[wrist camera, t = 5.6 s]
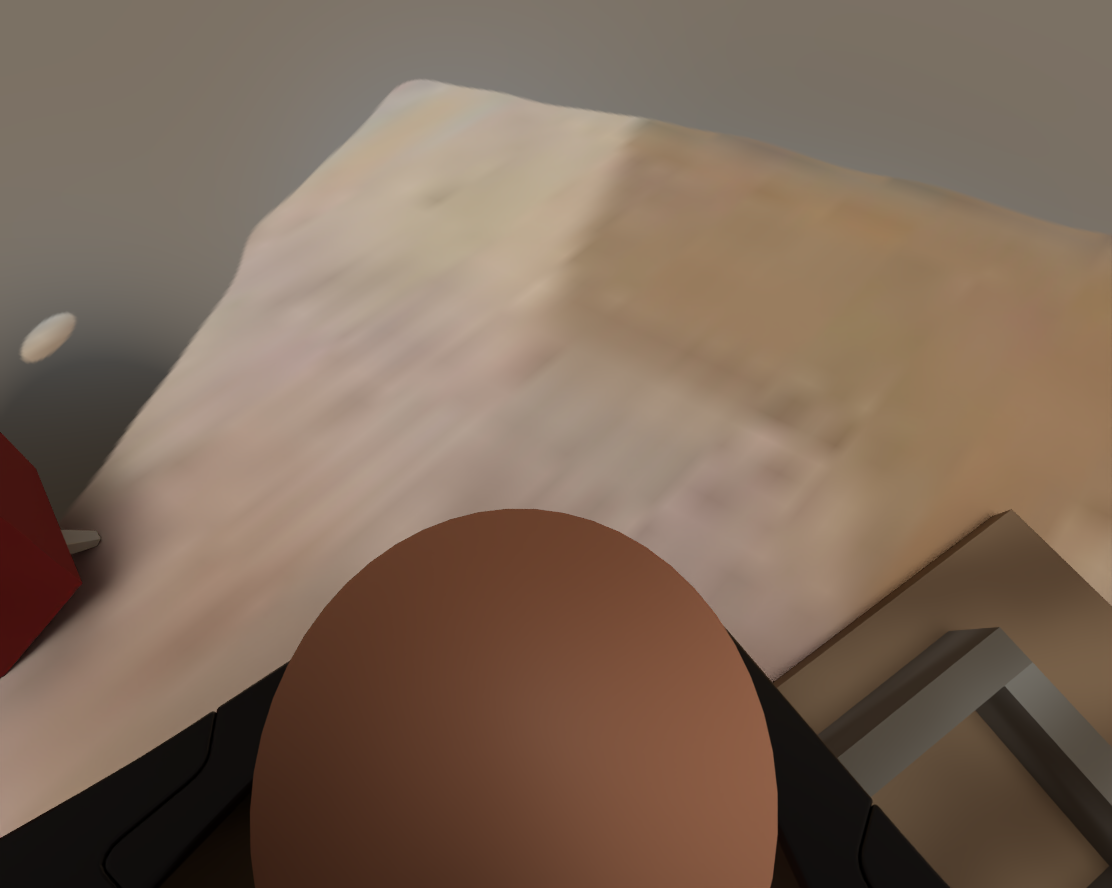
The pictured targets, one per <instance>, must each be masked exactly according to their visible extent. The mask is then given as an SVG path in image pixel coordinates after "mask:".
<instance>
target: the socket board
mask: <svg viewBox="0 0 1112 888" xmlns="http://www.w3.org/2000/svg"><path fill="white" fill-rule="evenodd" d="M773 684H774V685H775V686H776V687H777V688H778V690H779V691H780V692H781V693H782V694H783V695H784V697H785V698H786V699H787V700H788V701H789V702H790V704H791V705H792V706H793V707H794V708H795V709H796V711H797V712H798V713H799V714H800V715H801V716H802V718H803V719H804V720H805V721H806V722H807V723H808V725H809V726H810V727H811V728H812V729H813V730H814V732H815V733H816V734H817V735H818V736H819V737H820V739H821V740H822V741H823V742H824V743H825V744H826V746H827V747H828V748H829V749H830V750H831V751H832V753H833V754H834V755H835V756H836V757H837V758H838V760H839V761H840V762H841V763H842V764H843V765H844V767H845V768H846V769H847V770H848V771H849V772H850V774H851V775H852V776H853V777H854V778H855V779H856V781H857V782H858V783H859V784H860V785H861V786H862V788H863V789H864V790H865V791H866V792H867V793H868V795H869V796H870V797H871V798H872V800H873V803H872V805H874V804H876V805H878V806H879V807H880V808H881V809H882V810H883V812H884V813H885V814H886V815H887V816H888V817H889V819H890V820H891V821H892V822H893V823H894V824H895V826H896V827H897V828H898V829H899V830H900V831H901V833H902V834H903V835H904V836H905V837H906V838H907V839H908V840H909V842H910V843H911V844H912V845H913V846H914V847H915V848H916V849H917V851H918V852H919V853H920V854H921V855H922V856H923V857H924V858H925V859H926V861H927V862H928V863H929V864H930V865H931V866H932V867H933V868H934V870H935V871H936V872H937V873H938V874H939V875H940V876H941V877H942V879H943V880H944V881H945V882H946V883H947V884H948V885H949V886H950V887H951V888H1112V606H1111V605H1110V604H1109V603H1108V602H1107V601H1106V600H1105V599H1104V598H1103V597H1102V596H1101V595H1100V594H1099V593H1098V592H1096V591H1095V590H1094V589H1093V588H1092V587H1091V586H1090V585H1089V584H1088V583H1087V582H1086V581H1085V580H1084V579H1083V578H1082V577H1081V576H1080V575H1079V574H1078V573H1077V572H1076V571H1075V570H1074V569H1073V568H1072V567H1071V566H1070V565H1069V564H1068V563H1067V562H1066V561H1065V560H1063V559H1062V558H1061V557H1060V556H1059V555H1058V554H1057V553H1056V552H1055V551H1054V550H1053V549H1052V548H1051V547H1050V546H1049V545H1048V544H1047V543H1046V542H1045V541H1044V540H1043V539H1042V538H1041V537H1040V536H1039V535H1038V534H1037V533H1036V532H1035V531H1034V530H1033V529H1032V528H1030V527H1029V526H1028V525H1027V524H1026V523H1025V522H1024V521H1023V520H1022V519H1021V518H1020V517H1019V516H1018V515H1017V514H1016V513H1015V512H1014V511H1013V510H1012V509H1011V510H1008V511H1005V512H1003V513H1000V514H997V515H994V516H992V517H991V518H990V519H988V520H987V521H986V522H984V523H983V524H982V525H980V526H979V527H978V528H976V529H975V530H974V531H973V532H971V533H970V534H969V535H967V536H966V537H965V538H963V539H962V540H961V541H959V542H958V543H957V544H955V545H954V546H953V547H951V548H950V549H949V550H947V551H946V552H945V553H943V554H942V555H941V556H940V557H938V558H937V559H936V560H934V561H933V562H932V563H930V564H929V565H928V566H926V567H925V568H924V569H922V570H921V571H920V572H918V573H917V574H916V575H914V576H913V577H912V578H911V579H909V580H908V581H907V582H905V583H904V584H903V585H901V586H900V587H899V588H897V589H896V590H895V591H893V592H892V593H891V594H889V595H888V596H887V597H885V598H884V599H883V600H881V601H880V602H879V603H878V604H876V605H875V606H874V607H872V608H871V609H870V610H868V611H867V612H866V613H864V614H863V615H862V616H860V617H859V618H858V619H856V620H855V621H854V622H852V623H851V624H850V625H849V626H847V627H846V628H845V629H843V630H842V631H841V632H839V633H838V634H837V635H835V636H834V637H833V638H831V639H830V640H829V641H827V642H826V643H825V644H823V645H822V646H821V647H819V648H818V649H817V650H816V651H814V652H813V653H812V654H810V655H809V656H808V657H806V658H805V659H804V660H802V661H801V662H800V663H798V664H797V665H796V666H794V667H793V668H792V669H790V670H789V671H788V672H786V673H785V674H784V675H783V676H781V677H780V678H779V679H777V680H776V681H775V682H773Z"/></svg>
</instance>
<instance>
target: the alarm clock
mask: <svg viewBox="0 0 1112 888" xmlns="http://www.w3.org/2000/svg"><path fill="white" fill-rule="evenodd" d="M100 538H101V537H100V536H99V535H98V533H97V531H91V530H61V529H60V527H59V524H58V522H57V519H56V517H55V515H54V512H53V510H52V507H51V505H50V502H49V500H48V497H47V495H46V492H45V490H44V487H43V485H42V483H41V480H40V478H39V475H38V473H37V470H36V469H35V468H34V466H33V465H32V464H31V463H30V462H29V461H28V460H27V459H26V458H25V457H24V456H23V455H22V454H21V453H20V452H19V451H18V450H17V449H16V448H15V447H14V446H13V445H12V444H11V443H10V442H9V441H8V440H7V438H6V437H5V436H4V435H2V433H1V432H0V677H3V676H4V675H5V674H6V673H7V672H8V671H9V670H10V668H11V667H12V666H13V665H14V664H15V662H16V661H17V660H18V659H19V658H20V657H21V655H22V654H23V653H24V652H25V651H26V649H27V648H28V647H29V646H30V645H31V644H32V642H33V641H34V640H35V639H36V638H37V636H38V635H39V634H40V633H41V632H42V631H43V629H44V628H45V627H46V626H47V625H48V623H49V622H50V621H51V620H52V619H53V617H54V616H55V615H56V614H57V613H58V612H59V610H60V609H61V608H62V607H63V606H64V604H65V603H66V602H67V601H68V600H69V599H70V597H71V596H72V595H73V594H74V593H75V591H76V590H77V589H78V588H79V587H80V586H81V584H82V581H81V579H80V576H79V574H78V571H77V569H76V566H75V564H74V561H73V559H72V556H71V554H74V553H77V552H80V551H83V550H86V549H89V548H92V547H95V546H97V545H98V543H99V541H100Z"/></svg>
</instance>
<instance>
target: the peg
mask: <svg viewBox="0 0 1112 888" xmlns="http://www.w3.org/2000/svg"><path fill="white" fill-rule="evenodd" d="M777 835H778V792H777V784H776V775H775V766H774V758H773V750H772V746H771V742H770V738H769V733H768V729H767V725H766V720H765V716H764V712H763V709H762V707H761V704H760V701H759V698H758V695H757V692H756V690H755V687H754V684H753V681H752V678H751V676H750V674H749V672H748V670H747V668H746V666H745V664H744V662H743V660H742V658H741V656H740V654H739V651H738V649H737V647H736V645H735V643H734V642H733V640H732V639H731V637H730V636H729V634H728V633H727V631H726V629H725V628H724V626H723V625H722V623H721V622H720V620H719V619H718V617H717V615H716V614H715V613H714V612H713V610H712V609H711V608H710V607H709V605H708V604H707V603H706V602H705V601H704V599H703V598H702V597H701V596H700V595H699V593H698V592H697V591H696V590H695V588H694V587H693V586H691V585H690V584H689V583H688V582H687V581H686V580H685V579H684V578H683V577H682V576H681V575H680V574H679V573H678V572H677V571H676V570H675V569H674V568H673V567H672V566H670V565H669V564H668V563H666V562H665V561H664V560H662V559H661V558H660V557H658V556H657V555H656V554H654V553H653V552H652V551H650V550H649V549H648V548H646V547H645V546H643V545H641V544H640V543H638V542H636V541H634V540H633V539H631V538H629V537H627V536H626V535H624V534H622V533H620V532H618V531H616V530H613V529H611V528H609V527H606V526H604V525H601V524H599V523H596V522H594V521H591V520H588V519H584V518H580V517H577V516H573V515H569V514H565V513H560V512H552V511H545V510H538V509H503V510H494V511H486V512H478V513H474V514H470V515H466V516H462V517H458V518H454V519H450V520H448V521H445V522H442V523H440V524H437V525H435V526H432V527H430V528H427V529H424V530H422V531H420V532H418V533H416V534H415V535H413V536H411V537H409V538H407V539H405V540H403V541H401V542H400V543H398V544H396V545H394V546H393V547H392V548H390V549H389V550H387V551H386V552H384V553H383V554H382V555H380V556H379V557H377V558H376V559H374V560H373V561H371V562H370V563H369V564H368V565H367V566H366V567H365V568H363V569H362V570H361V571H360V572H359V573H358V574H357V575H355V576H354V577H353V578H352V579H351V580H350V581H349V582H348V583H347V584H346V585H345V586H344V587H343V588H342V589H341V590H340V591H339V592H338V593H337V595H336V596H335V597H334V598H333V599H332V600H331V601H330V602H329V603H328V604H327V606H326V607H325V608H324V609H323V611H322V612H321V613H320V615H319V616H318V618H317V619H316V620H315V622H314V623H313V624H312V626H311V627H310V629H309V630H308V631H307V633H306V634H305V636H304V637H303V639H302V641H301V643H300V644H299V646H298V648H297V650H296V651H295V653H294V655H293V657H292V658H291V660H290V662H289V664H288V665H287V668H286V670H285V672H284V675H283V677H282V679H281V681H280V684H279V686H278V688H277V691H276V693H275V695H274V697H273V700H272V703H271V706H270V709H269V713H268V716H267V719H266V722H265V725H264V728H263V731H262V735H261V740H260V744H259V749H258V754H257V759H256V764H255V769H254V775H253V786H252V796H251V807H250V848H251V860H252V868H253V876H254V884H255V888H770V887H771V882H772V878H773V870H774V861H775V853H776V844H777Z"/></svg>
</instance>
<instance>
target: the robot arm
mask: <svg viewBox="0 0 1112 888" xmlns="http://www.w3.org/2000/svg"><path fill="white" fill-rule="evenodd" d="M722 625H723V624H722ZM724 628H725V627H724ZM725 629H726V628H725ZM726 631H727V633H728V634H729V636H730V637H731V639H732V640H733V642H734V643H735V645H736V647H737V649H738V651H739V654H740V656H741V658H742V660H743V662H744V664H745V666H746V668H747V670H748V672H749V674H750V676H751V678H752V681H753V684H754V687H755V690H756V692H757V695H758V698H759V701H760V704H761V707H762V709H763V712H764V716H765V720H766V725H767V729H768V733H769V738H770V742H771V746H772V750H773V758H774V766H775V775H776V784H777V792H778V835H777V844H776V853H775V861H774V870H773V878H772V882H771V887H770V888H951V887H950V886H949V885H948V884H947V883H946V882H945V881H944V880H943V879H942V877H941V876H940V875H939V874H938V873H937V872H936V871H935V870H934V868H933V867H932V866H931V865H930V864H929V863H928V862H927V861H926V859H925V858H924V857H923V856H922V855H921V854H920V853H919V852H918V851H917V849H916V848H915V847H914V846H913V845H912V844H911V843H910V842H909V840H908V839H907V838H906V837H905V836H904V835H903V834H902V833H901V831H900V830H899V829H898V828H897V827H896V826H895V824H894V823H893V822H892V821H891V820H890V819H889V817H888V816H887V815H886V814H885V813H884V812H883V810H882V809H881V808H880V807H879V806H878V805H876V804H874V805H872V803H873V800H872V798H871V797H870V796H869V795H868V793H867V792H866V791H865V790H864V789H863V788H862V786H861V785H860V784H859V783H858V782H857V781H856V779H855V778H854V777H853V776H852V775H851V774H850V772H849V771H848V770H847V769H846V768H845V767H844V765H843V764H842V763H841V762H840V761H839V760H838V758H837V757H836V756H835V755H834V754H833V753H832V751H831V750H830V749H829V748H828V747H827V746H826V744H825V743H824V742H823V741H822V740H821V739H820V737H819V736H818V735H817V734H816V733H815V732H814V730H813V729H812V728H811V727H810V726H809V725H808V723H807V722H806V721H805V720H804V719H803V718H802V716H801V715H800V714H799V713H798V712H797V711H796V709H795V708H794V707H793V706H792V705H791V704H790V702H789V701H788V700H787V699H786V698H785V697H784V695H783V694H782V693H781V692H780V691H779V690H778V688H777V687H776V686H775V685H774V684H773V683H772V682H771V680H770V679H769V678H768V677H767V676H766V675H765V673H764V672H763V671H762V670H761V669H760V668H759V666H758V665H757V664H756V663H755V662H754V661H753V659H752V658H751V657H750V656H749V655H748V654H747V652H746V651H745V650H744V649H743V648H742V647H741V645H740V644H739V643H738V642H737V641H736V640H735V638H734V637H733V636H732V635H731V634H730V633H729V631H728V630H727V629H726ZM289 662H290V661H289ZM289 662H287V663H286V664H284V665H283V666H281V667H279V668H278V669H276V670H275V671H273V672H272V673H270V674H269V675H267V676H266V677H264V678H263V679H261V680H260V681H258V682H257V683H255V684H253V685H252V686H250V687H249V688H247V689H246V690H244V691H243V692H241V693H240V694H238V695H237V696H235V697H234V698H232V699H231V700H229V701H228V702H226V703H224V704H223V705H221V706H220V707H219V708H218V709H217V713H216V712H210V713H209V714H207V715H206V716H204V717H203V718H201V719H200V720H198V721H197V722H195V723H194V724H192V725H191V726H189V727H187V728H186V729H184V730H183V731H181V732H180V733H178V734H177V735H175V736H173V737H172V738H170V739H169V740H167V741H165V742H164V743H162V744H161V745H159V746H157V747H156V748H154V749H153V750H151V751H150V752H148V753H146V754H145V755H143V756H142V757H140V758H138V759H137V760H135V761H133V762H132V763H130V764H128V765H126V766H125V767H123V768H121V769H120V770H118V771H116V772H115V773H113V774H111V775H109V776H108V777H106V778H104V779H103V780H101V781H99V782H98V783H96V784H94V785H92V786H91V787H89V788H87V789H86V790H84V791H82V792H80V793H79V794H77V795H75V796H73V797H72V798H70V799H68V800H66V801H65V802H63V803H61V804H59V805H58V806H56V807H54V808H52V809H51V810H49V811H47V812H45V813H44V814H42V815H40V816H38V817H37V818H35V819H33V820H31V821H30V822H28V823H26V824H24V825H22V826H21V827H19V828H17V829H15V830H14V831H12V832H10V833H8V834H7V835H5V836H3V837H1V838H0V888H255V884H254V876H253V868H252V860H251V848H250V807H251V796H252V786H253V775H254V769H255V764H256V759H257V754H258V749H259V744H260V740H261V735H262V731H263V728H264V725H265V722H266V719H267V716H268V713H269V709H270V706H271V703H272V700H273V697H274V695H275V693H276V691H277V688H278V686H279V684H280V681H281V679H282V677H283V675H284V672H285V670H286V668H287V665H288V664H289Z"/></svg>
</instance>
